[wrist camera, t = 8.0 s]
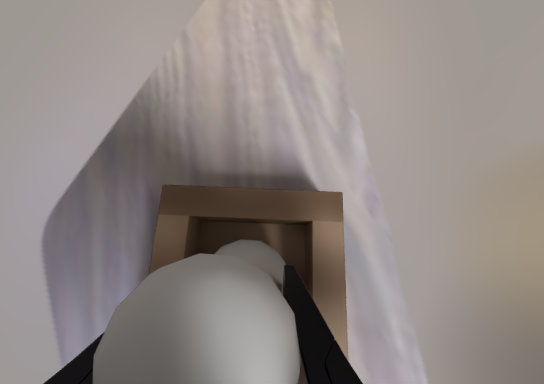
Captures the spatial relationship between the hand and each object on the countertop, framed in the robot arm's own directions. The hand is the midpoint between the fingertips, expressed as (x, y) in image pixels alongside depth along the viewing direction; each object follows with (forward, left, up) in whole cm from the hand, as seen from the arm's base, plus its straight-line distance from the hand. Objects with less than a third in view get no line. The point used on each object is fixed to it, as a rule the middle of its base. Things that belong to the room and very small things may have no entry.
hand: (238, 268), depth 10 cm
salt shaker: (-2, 0, -8) cm, 8 cm away
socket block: (-1, 0, -8) cm, 8 cm away
